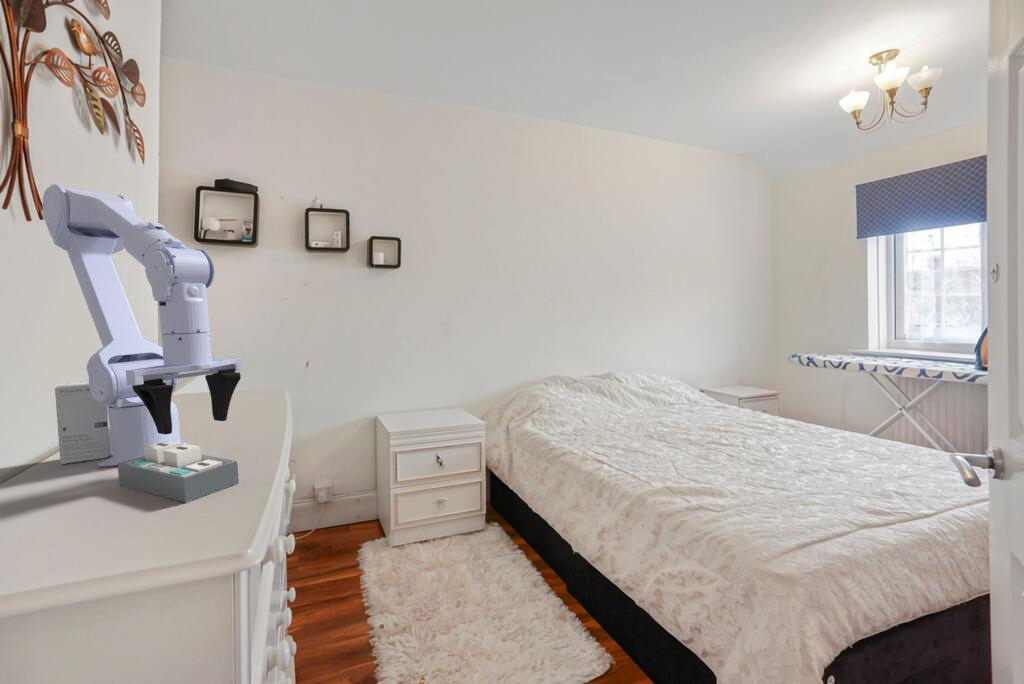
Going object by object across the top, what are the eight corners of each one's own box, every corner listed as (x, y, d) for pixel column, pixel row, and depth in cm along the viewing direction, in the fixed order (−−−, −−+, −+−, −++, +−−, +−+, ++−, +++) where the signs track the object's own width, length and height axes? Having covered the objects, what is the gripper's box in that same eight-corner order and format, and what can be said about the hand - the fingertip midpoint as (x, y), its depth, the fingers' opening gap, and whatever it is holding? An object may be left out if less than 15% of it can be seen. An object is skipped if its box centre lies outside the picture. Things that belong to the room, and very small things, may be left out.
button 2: (185, 482, 59) (184, 465, 59) (209, 474, 62) (208, 458, 62) (200, 486, 58) (198, 468, 58) (223, 477, 61) (222, 461, 61)
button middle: (164, 466, 61) (163, 449, 61) (188, 458, 64) (187, 443, 64) (177, 468, 60) (176, 452, 60) (201, 461, 63) (200, 445, 62)
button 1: (145, 461, 63) (144, 446, 63) (169, 455, 66) (168, 440, 66) (158, 464, 62) (156, 448, 62) (182, 457, 64) (180, 442, 64)
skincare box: (59, 465, 71) (51, 387, 70) (67, 458, 75) (59, 384, 74) (112, 457, 75) (104, 382, 74) (116, 450, 78) (109, 379, 77)
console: (119, 485, 62) (117, 461, 62) (173, 468, 68) (171, 447, 68) (185, 503, 56) (183, 476, 55) (238, 483, 61) (237, 459, 61)
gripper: (143, 336, 58) (153, 443, 59) (251, 330, 71) (258, 417, 72) (113, 336, 61) (123, 437, 62) (223, 330, 74) (229, 413, 75)
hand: (194, 426), depth 67 cm, fingers open, 7 cm apart
